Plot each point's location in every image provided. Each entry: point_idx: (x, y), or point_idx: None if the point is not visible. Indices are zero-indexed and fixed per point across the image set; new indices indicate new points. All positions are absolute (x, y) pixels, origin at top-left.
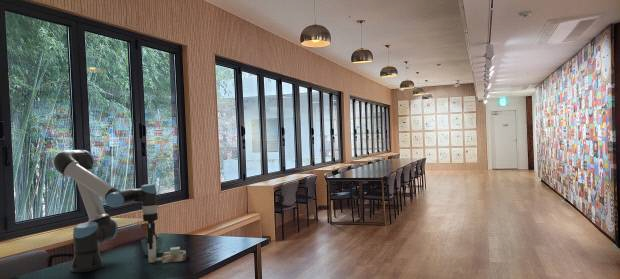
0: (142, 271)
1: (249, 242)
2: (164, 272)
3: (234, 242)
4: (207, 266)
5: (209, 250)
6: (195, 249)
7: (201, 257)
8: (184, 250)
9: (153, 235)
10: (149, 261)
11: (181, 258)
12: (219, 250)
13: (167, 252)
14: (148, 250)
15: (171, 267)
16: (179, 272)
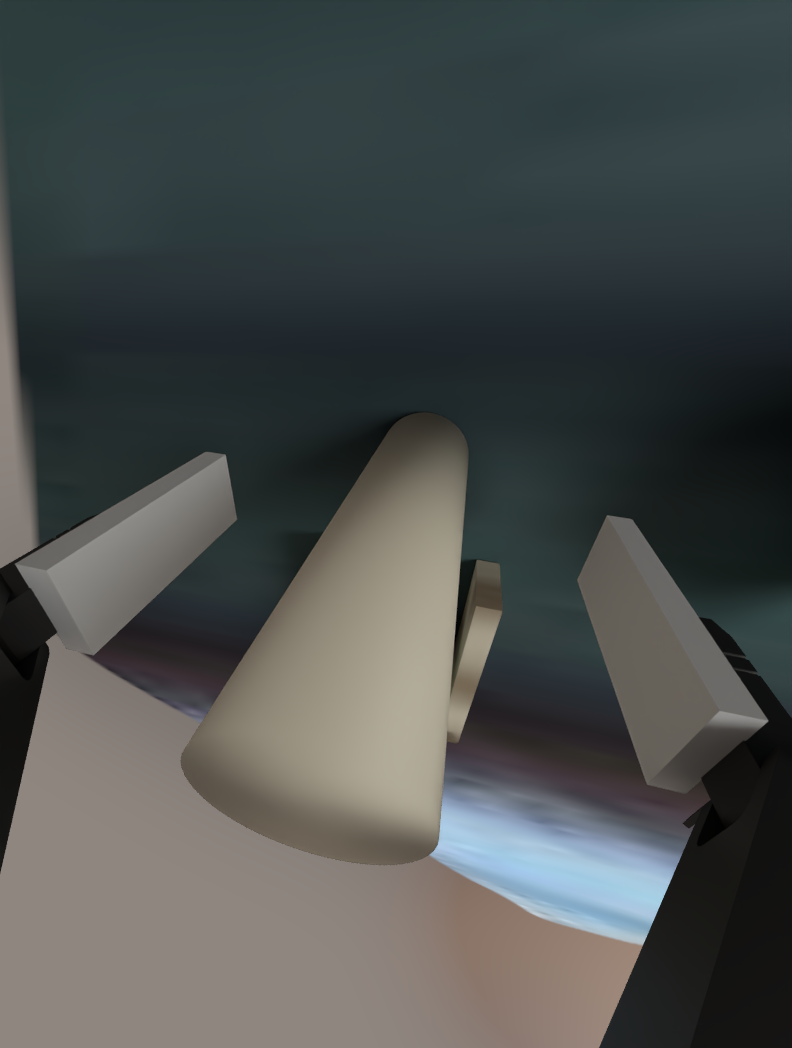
0: (75, 333)
1: (559, 907)
2: (55, 508)
3: (626, 897)
4: (168, 698)
5: (529, 800)
6: (644, 777)
7: None
8: (449, 736)
9: (328, 841)
10: (393, 426)
11: None
12: (486, 818)
13: (467, 638)
14: (151, 487)
15: None
16: None
